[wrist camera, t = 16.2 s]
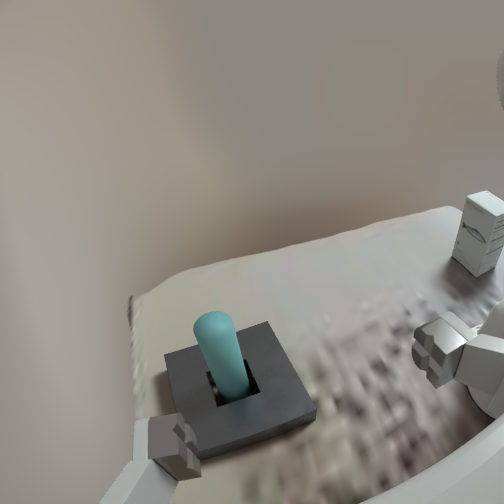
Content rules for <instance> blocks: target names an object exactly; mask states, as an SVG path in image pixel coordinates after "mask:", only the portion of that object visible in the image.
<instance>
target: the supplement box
mask: <svg viewBox="0 0 504 504" xmlns="http://www.w3.org/2000/svg"><path fill="white" fill-rule="evenodd" d="M503 245H504V201H502V200H501V199H499V198H497V197H496V196H494V195H493V194H491V193H489V192H488V191H482V192H479V193H475V194H472V195H469V196H467V197H466V202H465V206H464V210H463V214H462V219H461V223H460V227H459V230H458V234H457V238H456V241H455V245H454V249H453V252H452V257H454V258H455V259H456V260H458V261H459V262H460V263H461V264H462V265H463V266H464V267H465V268H467V269H468V270H469V271H470V272H471V273H472V274H473V275H474V276H475V277H478V276H480V275H482V274H483V273H485V272H487V271H489V270H490V269H492V268H494V267H495V266H496V264H497V261H498V259H499V256H500V254H501V251H502V248H503Z"/></svg>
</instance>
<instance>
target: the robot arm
mask: <svg viewBox="0 0 504 504" xmlns="http://www.w3.org/2000/svg"><path fill="white" fill-rule="evenodd" d="M496 76H497V89H498V94H499V98H500V101H501V105H502V107H503V110H504V47H503V49H502V50H501V53H500V56H499V59H498V64H497V75H496ZM414 338H415V339H416V341H415V342H414V344H413V345H412V357H413V360H414V362H415V364H416V365H417V367H418V368H419V369H421V370H424V371H426V378H427V379H428V380H429V381H430V382H431V384H432V385H433V386H434V387H435V388H436V389H437V388H439V387H440V386H442V385H444V384H446V383H447V382H449V381H451V380H452V379H454V380H456V381H458V382H461V383H463V384H465V385H467V386H468V389H469V391H470V393H471V395H472V397H473V399H474V401H475V402H476V403H477V405H478V406H479V407H480V408H481V409H482V410H483V411H484V412H485V413H486V414H488V415H489V416H491V417H493V418H495V419H496V420H495V421H494V422H492V423H491V424H490V425H489V426H488V427H486V428H485V429H484V430H483V431H481V432H480V433H479V434H477V435H476V436H475V437H474V438H472V439H471V440H469V441H468V442H467V443H465V444H464V445H463V446H461V447H460V448H458V449H457V450H455V451H454V452H453V453H451V454H450V455H448V456H447V457H445V458H444V459H442V460H440V461H439V462H437V463H436V464H434V465H432V466H431V467H429V468H428V469H426V470H424V471H423V472H421V473H419V474H417V475H416V476H414V477H412V478H410V479H408V480H407V481H405V482H403V483H401V484H399V485H397V486H395V487H393V488H391V489H389V490H387V491H385V492H383V493H381V494H379V495H377V496H375V497H373V498H370V499H368V500H366V501H364V502H361V503H359V504H504V299H502V300H501V301H500V302H496V303H495V305H494V306H493V308H492V310H491V311H490V313H489V315H488V316H487V318H486V320H485V321H484V323H481V324H479V325H477V326H475V327H473V328H471V329H470V328H469V327H468V326H467V325H466V324H465V323H464V322H463V321H461V320H460V319H459V318H458V317H457V316H456V315H455V314H453V313H452V312H449V311H448V312H446V313H444V314H443V315H441V316H439V317H437V318H435V319H433V320H431V321H429V322H427V323H425V324H424V325H422V326H420V327H418V328H416V330H415V331H414ZM197 451H198V444H197V440H196V436H195V434H194V432H193V429H192V428H191V427H190V425H188V424H185V422H184V417H183V416H182V415H181V413H174V414H169V415H163V416H157V417H150V418H144V419H138V420H136V421H135V424H134V435H133V455H132V461H129V462H128V463H127V464H126V466H125V467H124V469H123V470H122V471H121V473H120V474H119V476H118V477H117V479H116V480H115V482H114V483H113V485H112V486H111V487H110V489H109V490H108V491H107V493H106V494H105V496H104V497H103V499H102V500H101V501H100V503H99V504H168V503H169V501H170V499H171V497H172V495H173V493H174V491H175V489H176V487H177V484H178V482H177V481H182V480H188V479H194V478H199V477H202V476H201V468H200V460H199V459H198V458H197V457H196V456H195V454H196V452H197Z"/></svg>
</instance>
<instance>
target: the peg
mask: <svg viewBox="0 0 504 504" xmlns="http://www.w3.org/2000/svg"><path fill="white" fill-rule="evenodd" d="M193 330H194V334H195V336H196V339H197V341H198V344H199V346H200V349H201V351H202V353H203V356H204V358H205V361H206V363H207V365H208V368H209V370H210V372H211V374H212V377H213V379H214V381H215V384H216V386H217V388H218V390H219V393H220V395H221V397H222V399H223V401H224V402H225V404H229V403H232V402H235V401H238V400H241V399H244V398H246V397H249V396H251V395H252V392H251V388H250V385H249V381H248V377H247V374H246V370H245V366H244V362H243V358H242V355H241V351H240V347H239V343H238V339H237V335H236V332H235V328H234V324H233V320H232V318H231V317H230V316H229V315H228V314H226V313H224V312H219V311H214V312H209V313H206V314H204V315H202V316H201V317H200V318H198V320H197V321H196V322H195V324H194V328H193Z"/></svg>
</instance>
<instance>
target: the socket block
mask: <svg viewBox="0 0 504 504" xmlns="http://www.w3.org/2000/svg"><path fill="white" fill-rule="evenodd" d="M236 335H237V339H238V343H239V347H240V351H241V355H242V358H243V362H244V366H245V370H246V373H248V372H250V375H251V377H252V379H253V382H254V384H255V386H256V388H257V390H258V394H255V395H252V396H249V397H246V398H244V399H241V400H238V401H235V402H232V403H229V404H226V405H223V406H219V405H218V403H217V400H216V397H215V394H214V391H213V388H212V384H215V381H214V379H213V377H212V374H211V372H210V370H209V368H208V365H207V363H206V361H205V358H204V356H203V353H202V351H201V349H200V346H199V344H198V345H195V346H191V347H188V348H185V349H182V350H178V351H175V352H172V353H168V354H165V355H164V357H165V362H166V367H167V372H168V376H169V381H170V386H171V390H172V394H173V399H174V403H175V407H176V411H177V413H181V415H182V416H183V417H184V422H185V424H188V425H190V427H191V428H192V429H193V432H194V434H195V436H196V440H197V444H198V451H197V452H196V454H195V456H196V457H197V458H198V459H199V460H204V459H208V458H211V457H215V456H218V455H221V454H225V453H228V452H231V451H234V450H238V449H241V448H244V447H247V446H250V445H253V444H255V443H258V442H261V441H264V440H267V439H269V438H272V437H275V436H277V435H280V434H282V433H285V432H287V431H290V430H292V429H295V428H297V427H300V426H302V425H304V424H307V423H309V422H311V421H313V420H316V412H317V408H316V407H315V405H314V403H313V401H312V400H311V398H310V396H309V394H308V393H307V391H306V389H305V387H304V385H303V384H302V382H301V380H300V378H299V377H298V375H297V373H296V371H295V370H294V368H293V366H292V364H291V362H290V361H289V359H288V357H287V355H286V353H285V352H284V350H283V348H282V346H281V345H280V343H279V341H278V339H277V337H276V336H275V334H274V332H273V330H272V328H271V326H270V325H269V323H268V321H266V322H263V323H261V324H258V325H255V326H252V327H249V328H246V329H243V330H240V331H238V332H236Z"/></svg>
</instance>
